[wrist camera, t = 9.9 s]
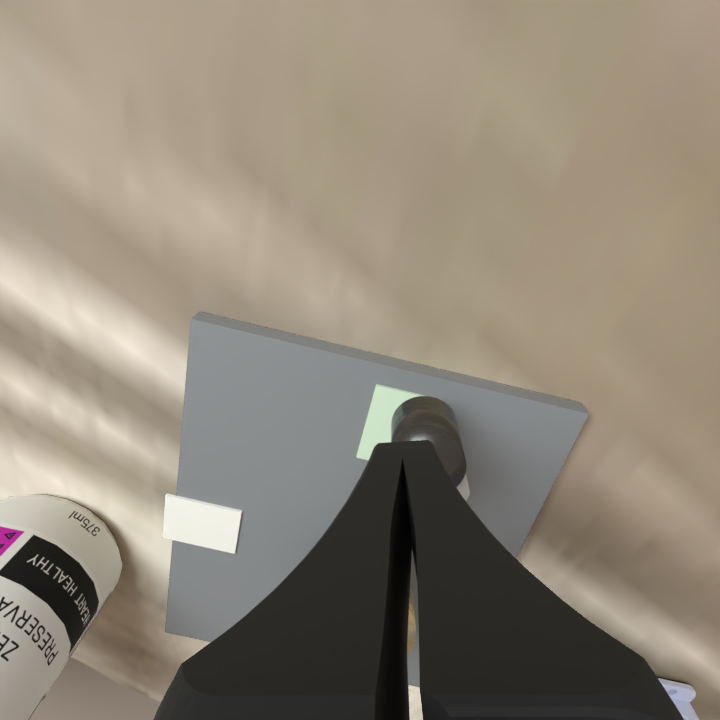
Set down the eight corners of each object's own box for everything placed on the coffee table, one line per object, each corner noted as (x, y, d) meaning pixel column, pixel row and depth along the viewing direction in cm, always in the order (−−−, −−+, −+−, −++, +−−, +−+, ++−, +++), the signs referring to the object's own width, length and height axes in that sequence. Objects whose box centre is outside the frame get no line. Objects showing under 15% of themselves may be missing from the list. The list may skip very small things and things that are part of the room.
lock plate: (580, 402, 22) (629, 469, 17) (445, 676, 30) (454, 769, 26) (188, 308, 21) (132, 352, 17) (164, 615, 30) (122, 699, 25)
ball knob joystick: (392, 650, 25) (392, 709, 22) (281, 622, 24) (268, 677, 22) (507, 418, 18) (525, 461, 16) (360, 376, 18) (355, 413, 16)
